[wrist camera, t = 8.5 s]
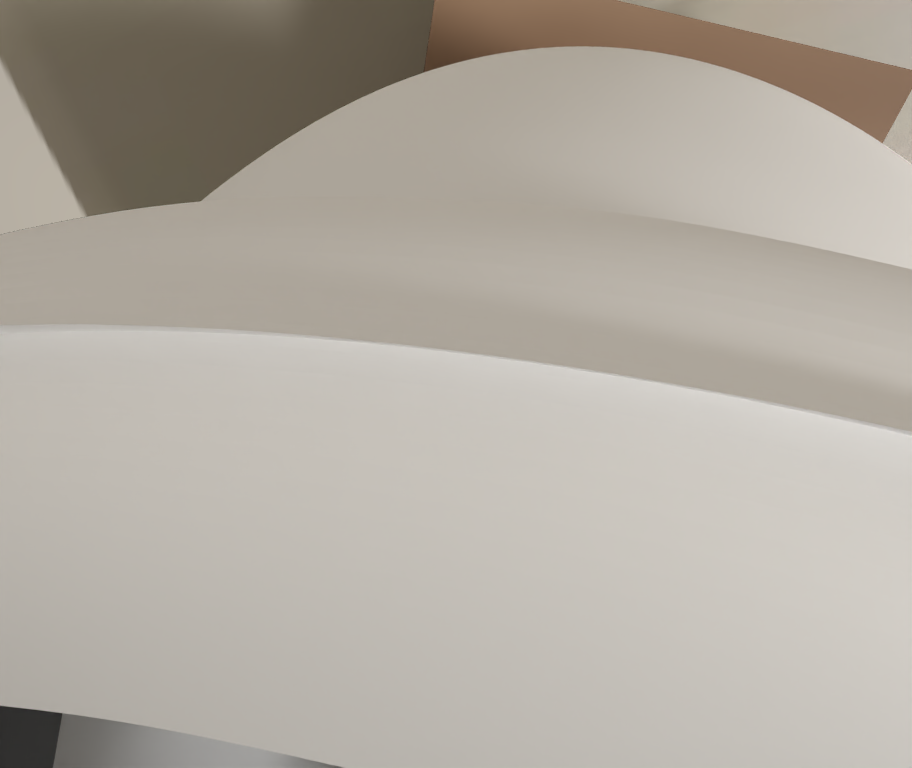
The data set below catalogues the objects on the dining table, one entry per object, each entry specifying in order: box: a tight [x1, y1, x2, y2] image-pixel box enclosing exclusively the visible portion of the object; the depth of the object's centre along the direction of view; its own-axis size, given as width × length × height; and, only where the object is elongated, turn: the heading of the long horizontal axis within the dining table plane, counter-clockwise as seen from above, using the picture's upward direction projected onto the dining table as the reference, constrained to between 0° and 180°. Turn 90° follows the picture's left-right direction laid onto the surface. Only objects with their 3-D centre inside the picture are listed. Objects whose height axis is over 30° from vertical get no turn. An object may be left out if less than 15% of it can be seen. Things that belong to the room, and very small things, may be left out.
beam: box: [424, 0, 912, 143], centre depth 20 cm, size 28×10×4 cm, turn 168°
